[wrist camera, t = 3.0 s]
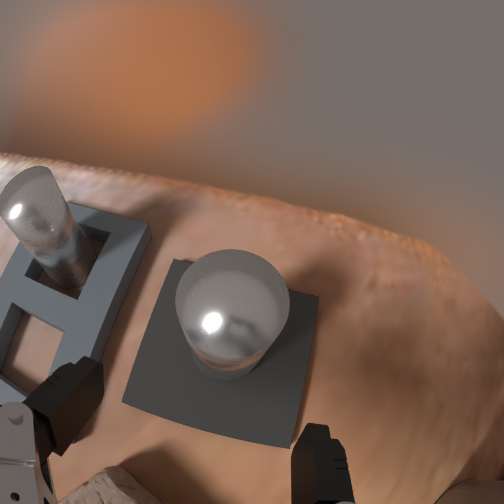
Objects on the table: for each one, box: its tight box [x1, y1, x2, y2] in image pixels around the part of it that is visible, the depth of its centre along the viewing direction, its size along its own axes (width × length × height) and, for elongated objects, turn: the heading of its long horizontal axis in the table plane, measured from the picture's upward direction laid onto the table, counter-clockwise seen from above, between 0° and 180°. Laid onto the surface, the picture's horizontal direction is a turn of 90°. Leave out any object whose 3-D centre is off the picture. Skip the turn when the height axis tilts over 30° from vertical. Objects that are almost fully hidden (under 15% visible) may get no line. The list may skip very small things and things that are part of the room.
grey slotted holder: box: [0, 202, 152, 444], centre depth 20 cm, size 12×19×2 cm, turn 167°
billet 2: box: [175, 249, 290, 383], centre depth 16 cm, size 5×5×10 cm
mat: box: [122, 259, 319, 449], centre depth 21 cm, size 12×12×1 cm
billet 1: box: [0, 166, 96, 289], centre depth 19 cm, size 5×5×10 cm
